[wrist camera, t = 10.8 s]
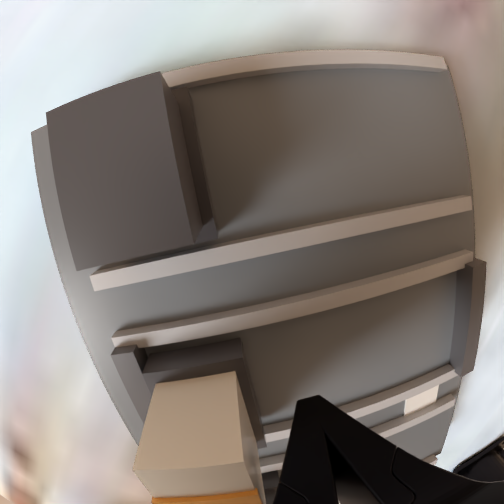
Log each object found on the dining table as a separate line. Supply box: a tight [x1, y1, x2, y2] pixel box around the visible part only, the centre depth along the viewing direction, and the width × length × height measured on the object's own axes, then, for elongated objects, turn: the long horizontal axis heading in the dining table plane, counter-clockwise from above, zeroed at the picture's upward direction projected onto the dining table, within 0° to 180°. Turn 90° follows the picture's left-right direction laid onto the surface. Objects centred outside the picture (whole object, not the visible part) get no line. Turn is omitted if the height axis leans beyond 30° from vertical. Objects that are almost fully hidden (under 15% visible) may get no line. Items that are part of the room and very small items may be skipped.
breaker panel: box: [31, 49, 486, 504], centre depth 9 cm, size 15×20×5 cm
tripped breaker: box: [133, 338, 267, 504], centre depth 8 cm, size 3×4×5 cm
